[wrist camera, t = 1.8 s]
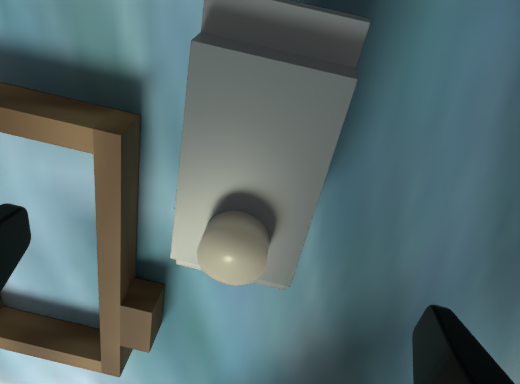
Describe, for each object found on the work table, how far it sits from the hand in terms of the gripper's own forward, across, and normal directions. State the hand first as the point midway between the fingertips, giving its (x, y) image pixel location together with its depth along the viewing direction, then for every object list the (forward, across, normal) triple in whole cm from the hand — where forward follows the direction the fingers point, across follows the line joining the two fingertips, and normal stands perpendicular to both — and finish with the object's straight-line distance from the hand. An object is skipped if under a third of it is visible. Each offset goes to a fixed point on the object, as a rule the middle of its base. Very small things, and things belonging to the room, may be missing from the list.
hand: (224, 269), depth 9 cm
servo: (+8, 0, 0) cm, 8 cm away
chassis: (+8, +9, +8) cm, 14 cm away
